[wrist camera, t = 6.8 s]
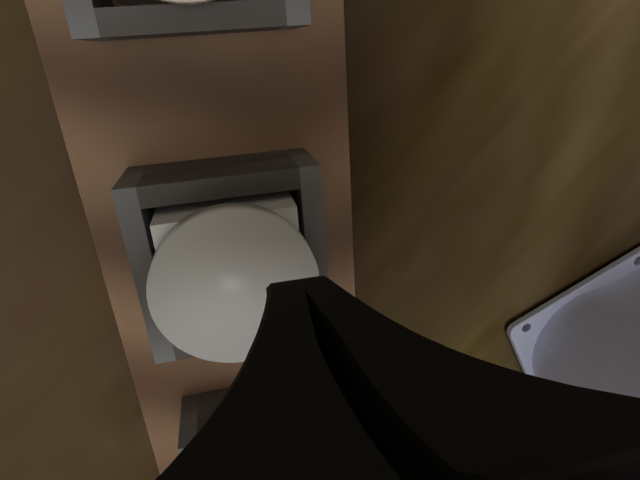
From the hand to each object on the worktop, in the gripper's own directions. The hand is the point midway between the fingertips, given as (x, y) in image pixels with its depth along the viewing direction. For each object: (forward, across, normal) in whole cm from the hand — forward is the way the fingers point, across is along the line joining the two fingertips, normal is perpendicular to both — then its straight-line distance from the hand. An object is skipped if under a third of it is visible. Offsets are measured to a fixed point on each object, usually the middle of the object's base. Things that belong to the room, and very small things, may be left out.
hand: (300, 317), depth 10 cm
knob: (+8, +1, +1) cm, 8 cm away
